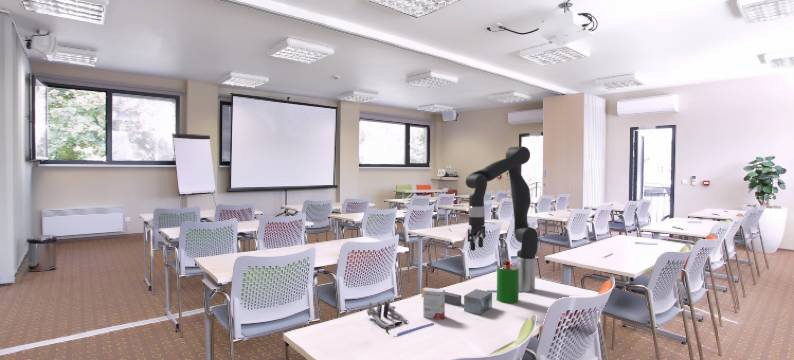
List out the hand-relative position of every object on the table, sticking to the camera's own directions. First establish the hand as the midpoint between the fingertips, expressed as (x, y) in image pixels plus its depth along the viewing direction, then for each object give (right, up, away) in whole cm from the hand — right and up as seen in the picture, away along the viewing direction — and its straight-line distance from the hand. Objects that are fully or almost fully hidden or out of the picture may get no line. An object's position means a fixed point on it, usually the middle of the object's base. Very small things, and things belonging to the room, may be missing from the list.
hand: (476, 248), depth 197 cm
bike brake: (-42, -26, -28) cm, 57 cm away
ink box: (-23, -26, -21) cm, 40 cm away
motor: (+15, -25, 0) cm, 29 cm away
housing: (-2, -25, -12) cm, 28 cm away
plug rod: (-17, -25, 0) cm, 30 cm away
